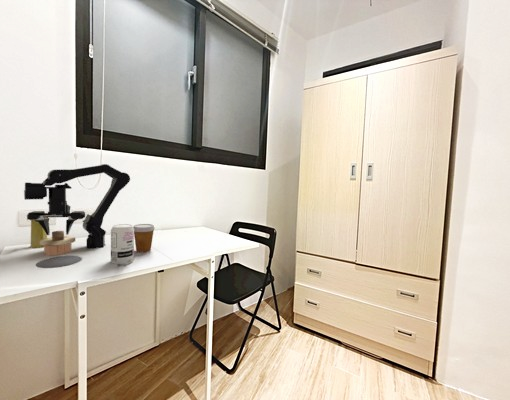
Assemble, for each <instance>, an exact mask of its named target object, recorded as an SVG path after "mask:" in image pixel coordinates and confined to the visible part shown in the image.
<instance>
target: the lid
mask: <svg viewBox="0 0 510 400" xmlns="http://www.w3.org/2000/svg"><path fill="white" fill-rule="evenodd" d="M74 242H76V237H75V236H68V235H66V236H65V231H64V230H56V231H52V232H51V237H47V238H46V239H43V240H41V241H40V245H43V246H56V245H64V244H69V243H74Z"/></svg>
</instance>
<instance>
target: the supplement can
mask: <svg viewBox="0 0 510 400" xmlns="http://www.w3.org/2000/svg"><path fill="white" fill-rule="evenodd" d="M133 227H134V225H132V224H127V223H124V224H114V225H112V227H111V229H110V263H111V264H114V265H115V264H116V265H118V266H123V265H124V266H125V265H128V264H131V263H133V261H134V259H135V237H134V228H133Z"/></svg>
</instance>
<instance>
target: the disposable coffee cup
mask: <svg viewBox="0 0 510 400" xmlns="http://www.w3.org/2000/svg"><path fill="white" fill-rule="evenodd" d="M133 228H134V246H135V250H136V252H137V253H147V252H150V251H152V244H153V236H154V230H156V228H155V226H154V224H152V223H151V224H150V223H140V224H139V223H138V224H134V225H133Z"/></svg>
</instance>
